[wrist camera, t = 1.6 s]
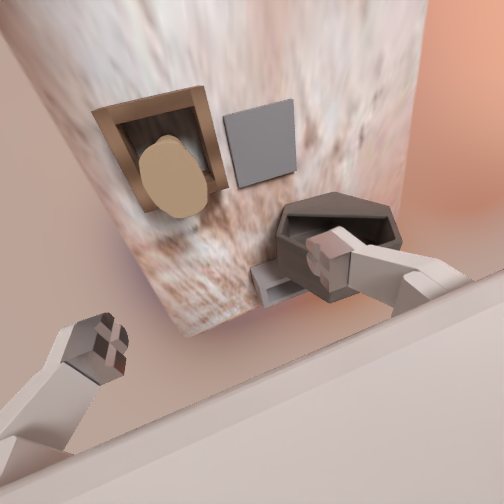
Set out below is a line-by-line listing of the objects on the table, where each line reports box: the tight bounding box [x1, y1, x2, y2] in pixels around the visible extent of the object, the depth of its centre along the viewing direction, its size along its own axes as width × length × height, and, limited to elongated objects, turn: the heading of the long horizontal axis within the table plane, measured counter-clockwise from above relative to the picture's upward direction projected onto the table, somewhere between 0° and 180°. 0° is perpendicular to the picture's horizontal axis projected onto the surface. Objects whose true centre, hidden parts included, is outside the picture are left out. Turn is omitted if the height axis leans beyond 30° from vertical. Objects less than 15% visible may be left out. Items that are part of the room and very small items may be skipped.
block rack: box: [250, 258, 308, 308], centre depth 50 cm, size 7×29×6 cm, turn 100°
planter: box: [276, 192, 403, 303], centre depth 38 cm, size 17×8×21 cm
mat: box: [223, 99, 297, 188], centre depth 34 cm, size 10×10×1 cm
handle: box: [139, 134, 207, 218], centre depth 25 cm, size 5×6×15 cm
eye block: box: [91, 86, 229, 213], centre depth 29 cm, size 12×12×5 cm
